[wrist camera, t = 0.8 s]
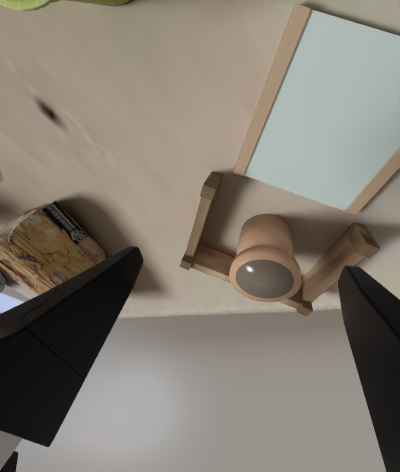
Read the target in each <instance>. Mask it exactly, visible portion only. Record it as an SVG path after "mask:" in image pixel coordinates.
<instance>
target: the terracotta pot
mask: <svg viewBox="0 0 400 472" xmlns="http://www.w3.org/2000/svg"><path fill="white" fill-rule="evenodd" d="M229 278H230V282H231V284H232V286H233V287H234V288H235V289H236V290H237V291H238V292H239V293H241V294H242V295H244V296H246V297H248V298H250V299H253V300H257V301H262V302H277V301H282V300H285V299H288V298H290V297H292V296H293V295H295V294H296V293H297V292H298V290H299V289H300V287H301V284H302V278H301V272H300V267H299V265H298V263H297V261H296V260H295V256H294V249H293V242H292V235H291V229H290V227H289V225H288V224H287V222H286V221H284V220H283V219H282V218H280V217H278V216H275V215H271V214H261V215H256V216H254V217H252V218H250V219H248V220H247V221H246V222H245V223H244V225H243V226H242V229H241V233H240V238H239V243H238V248H237V253H236V256H235V257H234V259H233V261H232V263H231V267H230V272H229Z"/></svg>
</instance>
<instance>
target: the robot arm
mask: <svg viewBox="0 0 400 472" xmlns="http://www.w3.org/2000/svg"><path fill="white" fill-rule="evenodd" d="M142 264H143V257H142V255H141V252H140V250H139V248H138V247H135V246H130V247H128V248H126V249H124V250H122V251H120V252H118V253H117V254H115V255H113V256H111V257H109V258H107V259H105V260H104V261H102V262H100V263H98V264H96V265H94V266H93V267H91V268H89V269H87V270H85V271H83V272H81V273H80V274H78V275H76V276H74V277H72V278H70V279H68V280H67V281H65V282H63V283H61V284H60V285H57V286H55V287H54V288H52V289H50V290H48V291H46V292H44V293H42V294H40V295H38V296H37V297H34V298H32V299H30V300H28V301H26V302H24V303H22V304H20V305H18V306H16V307H14V308H12V309H10V310H8V311H6V312H4V313H1V314H0V472H16V465H17V459H18V452H16V451H14V450H15V449H16V447H17V446H18V445H19V443H20V442H21V440H22V439H26V440H29V441H32V442H34V443H37V444H40V445H43V446H46V447H49V446H50V445H51V443H52V441H53V440H54V438H55V436H56V434H57V432H58V430H59V428H60V426H61V424H62V423H63V421H64V419H65V417H66V414H67V413H68V411H69V409H70V407H71V405H72V403H73V401H74V400H75V398H76V396H77V394H78V392H79V390H80V388H81V386H82V384H83V382H84V381H85V378H86V377H87V375H88V372H89V371H90V369H91V367H92V365H93V363H94V361H95V359H96V357H97V356H98V354H99V352H100V350H101V348H102V346H103V344H104V342H105V340H106V338H107V337H108V335H109V333H110V331H111V329H112V327H113V325H114V323H115V321H116V319H117V317H118V316H119V314H120V312H121V310H122V308H123V306H124V304H125V302H126V300H127V298H128V297H129V295H130V293H131V291H132V289H133V286H134V284H135V281H136V279H137V276H138V274H139V271H140V269H141V266H142ZM338 288H339V295H340V301H341V308H342V314H343V320H344V324H345V329H346V332H347V336H348V339H349V343H350V346H351V350H352V353H353V357H354V360H355V364H356V367H357V371H358V374H359V377H360V381H361V385H362V388H363V392H364V395H365V398H366V402H367V406H368V409H369V412H370V416H371V419H372V423H373V426H374V430H375V433H376V437H377V440H378V444H379V447H380V451H381V454H382V457H383V461H384V464H385V468H386V472H400V300H399V299H398V298H397V297H396V296H395V295H393V294H392V293H391V292H390V291H388V290H387V289H386V288H385V287H383V286H382V285H381V284H380V283H378V282H377V281H376V280H375V279H374V278H372V277H371V276H370V275H369V274H367V273H366V272H365V271H364V270H362V269H361V268H360V267H358V266H351V265H346V266H344V267H343V270H342V272H341V275H340V277H339V280H338Z"/></svg>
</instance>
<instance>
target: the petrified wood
mask: <svg viewBox="0 0 400 472" xmlns="http://www.w3.org/2000/svg"><path fill="white" fill-rule="evenodd" d="M105 259H106V254H105V252H104V250H103V249H102V248H101V247H100V246H99V245H98V244H97V243H96V242H95V241H94V240H93V239H92V238H91V237H90V236H88V235H87V234H86V233H85V231H84V230H83V229H82V228H81V227H80V226H79V225H78V224H77V222H76V221H75V220H73V219H72V218H71V217H70V216H69V215H68V214H67V213H66V212H65V211H64V210H63V209H62V208H61V207H60V206H59V205H58V204H57V203H56V202H53V203H51V204H44V205H42V206H41V207H39V208H38V209H36V210H35V209H31V210H29V211H27V212H25V213H23V214H21V215H20V216H18V217H17V218H16V219H14V220H13V221H11V222H10V223H8V224H7V226H5V227H4V228H2V229H1V230H0V267H2V268H3V269H4V270H6V271H7V272H9V273H10V274H11V275H12V276H13V277H14V278H15V279H17V280H18V281H21V282H22V283H24V284H25V285H26V286H28V287H29V288H30V289H31V290H33V291H34V292H35V293H36V294H37V295H40V294H42V293H44V292H46V291H48V290H50V289H52V288H54V287H55V286H57V285H60V284H61V283H63V282H65V281H67V280H68V279H70V278H72V277H74V276H76V275H78V274H80V273H81V272H83V271H85V270H87V269H89V268H91V267H93V266H94V265H96V264H98V263H100V262H102V261H104V260H105Z"/></svg>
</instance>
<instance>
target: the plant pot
mask: <svg viewBox="0 0 400 472" xmlns="http://www.w3.org/2000/svg"><path fill="white" fill-rule="evenodd" d="M57 1H59V0H0V5H2V6H4V7H7V8H10V9H14V10H22V11H32V10H37V9H40V8H43V7H45V6H47V5H48V4H50V3H53V2H57ZM68 1H76V2H84V3H92V4H99V5H106V6H119V5H122V4H124V3H126V2H128V1H129V0H68Z"/></svg>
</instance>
